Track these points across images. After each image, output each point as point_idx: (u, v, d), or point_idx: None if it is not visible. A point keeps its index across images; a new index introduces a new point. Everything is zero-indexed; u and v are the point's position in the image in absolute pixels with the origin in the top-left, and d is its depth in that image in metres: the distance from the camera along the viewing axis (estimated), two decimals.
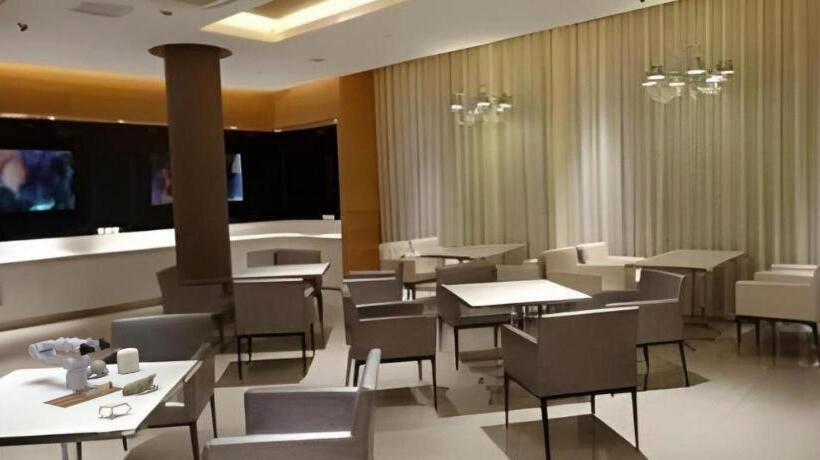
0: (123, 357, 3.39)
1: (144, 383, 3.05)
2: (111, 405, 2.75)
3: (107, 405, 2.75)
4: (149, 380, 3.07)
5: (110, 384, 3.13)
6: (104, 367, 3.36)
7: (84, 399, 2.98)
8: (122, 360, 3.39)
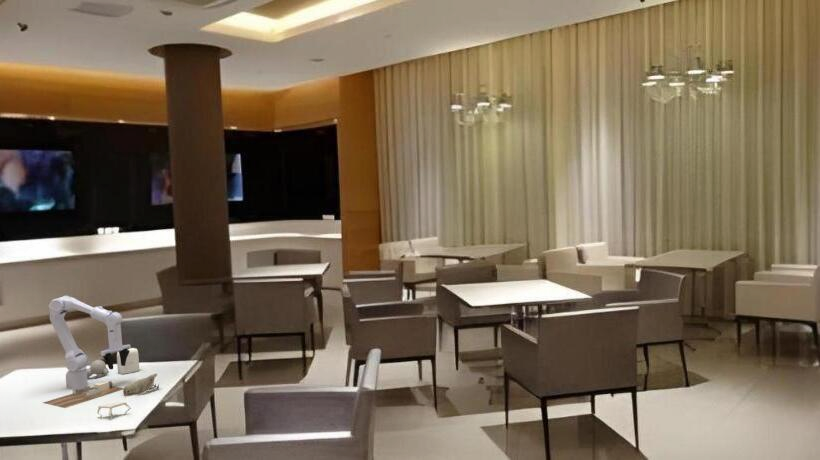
0: None
1: (144, 383, 3.05)
2: (110, 405, 2.75)
3: (106, 405, 2.75)
4: (150, 380, 3.07)
5: (110, 384, 3.13)
6: (104, 367, 3.36)
7: (84, 399, 2.98)
8: None
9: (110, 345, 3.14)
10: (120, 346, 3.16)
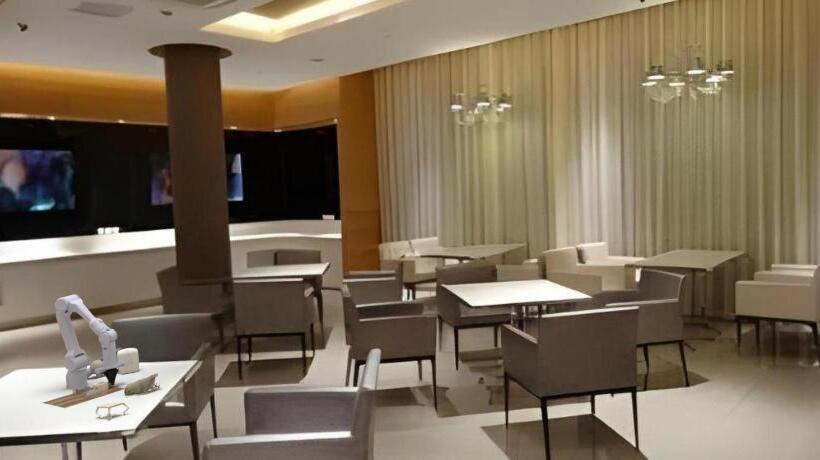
0: (123, 357, 3.39)
1: (145, 383, 3.05)
2: (108, 405, 2.75)
3: (104, 405, 2.75)
4: (151, 380, 3.08)
5: (109, 384, 3.12)
6: None
7: (84, 399, 2.98)
8: (122, 360, 3.39)
9: (105, 363, 3.12)
10: (115, 363, 3.13)
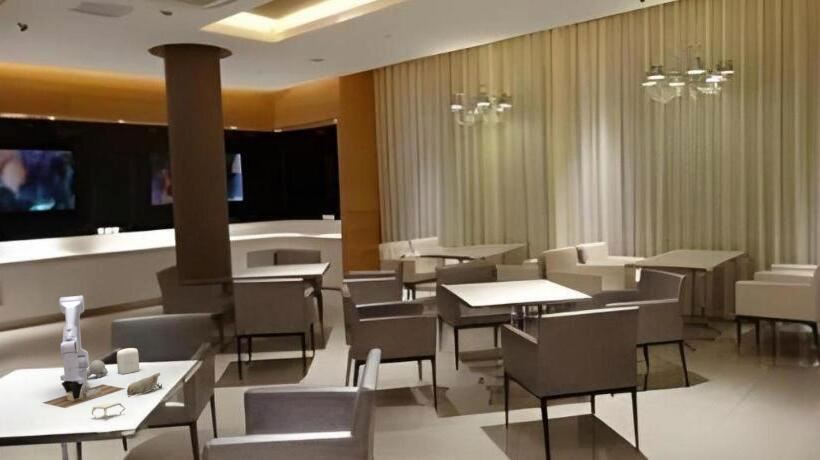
0: (123, 357, 3.39)
1: (148, 382, 3.06)
2: (105, 406, 2.74)
3: (100, 406, 2.75)
4: (153, 379, 3.08)
5: None
6: (103, 367, 3.35)
7: (84, 399, 2.98)
8: (122, 360, 3.39)
9: None
10: (66, 377, 2.96)
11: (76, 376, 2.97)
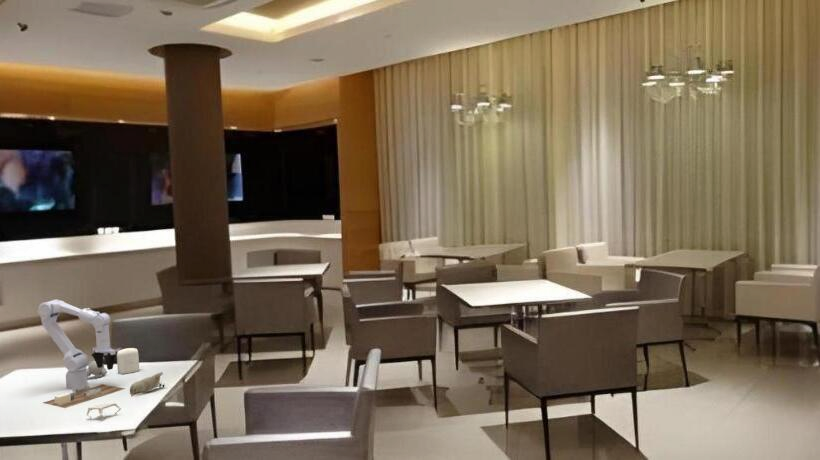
0: (123, 357, 3.39)
1: (151, 381, 3.07)
2: (100, 406, 2.74)
3: (96, 407, 2.74)
4: (156, 378, 3.09)
5: (72, 396, 2.97)
6: (102, 367, 3.35)
7: (84, 399, 2.98)
8: (122, 360, 3.39)
9: None
10: (99, 348, 3.13)
11: (108, 348, 3.15)
